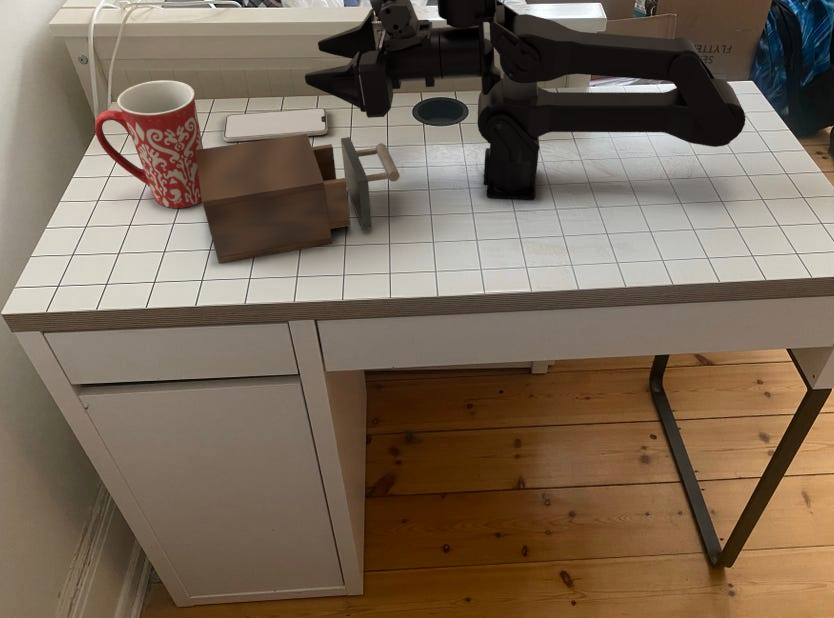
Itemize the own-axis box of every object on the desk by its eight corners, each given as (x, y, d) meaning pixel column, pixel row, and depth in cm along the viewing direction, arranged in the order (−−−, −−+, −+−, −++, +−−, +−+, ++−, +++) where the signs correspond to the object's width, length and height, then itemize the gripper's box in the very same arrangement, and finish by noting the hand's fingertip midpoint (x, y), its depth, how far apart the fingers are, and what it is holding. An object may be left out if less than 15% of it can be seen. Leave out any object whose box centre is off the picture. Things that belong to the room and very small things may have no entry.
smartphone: (225, 114, 113) (325, 107, 115) (226, 118, 114) (326, 111, 115) (222, 139, 108) (327, 131, 109) (223, 143, 108) (328, 135, 110)
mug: (221, 172, 103) (198, 77, 93) (215, 210, 97) (190, 111, 87) (126, 178, 102) (93, 82, 92) (114, 217, 95) (77, 118, 86)
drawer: (385, 178, 100) (382, 132, 96) (405, 221, 93) (402, 173, 89) (259, 198, 97) (249, 151, 92) (270, 245, 90) (260, 196, 85)
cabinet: (315, 193, 99) (307, 133, 93) (332, 243, 92) (324, 182, 86) (210, 210, 97) (195, 149, 91) (218, 263, 89) (201, 201, 83)
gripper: (439, -47, 89) (311, -37, 91) (430, 13, 76) (280, 24, 78) (447, 46, 97) (329, 54, 99) (439, 116, 84) (303, 123, 86)
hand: (312, 62), depth 90 cm, fingers open, 9 cm apart
